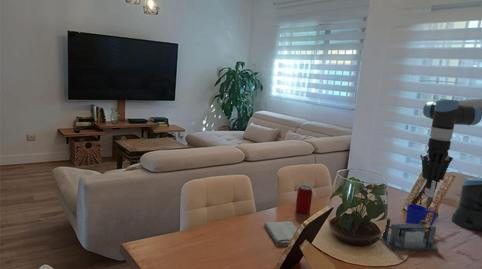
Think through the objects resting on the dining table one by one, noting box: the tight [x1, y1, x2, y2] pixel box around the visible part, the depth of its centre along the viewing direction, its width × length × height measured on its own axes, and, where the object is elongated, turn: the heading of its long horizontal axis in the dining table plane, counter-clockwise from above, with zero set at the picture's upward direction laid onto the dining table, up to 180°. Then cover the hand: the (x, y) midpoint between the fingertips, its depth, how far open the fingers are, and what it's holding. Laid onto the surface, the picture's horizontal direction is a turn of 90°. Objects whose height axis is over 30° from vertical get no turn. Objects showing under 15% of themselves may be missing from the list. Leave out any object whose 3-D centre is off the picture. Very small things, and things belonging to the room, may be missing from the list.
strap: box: [387, 222, 430, 230], centre depth 142 cm, size 19×4×1 cm, turn 99°
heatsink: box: [380, 217, 439, 251], centre depth 143 cm, size 20×12×9 cm, turn 99°
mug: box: [405, 203, 437, 226], centre depth 158 cm, size 8×12×10 cm
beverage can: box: [295, 185, 313, 214], centre depth 166 cm, size 7×7×12 cm
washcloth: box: [263, 220, 298, 247], centre depth 140 cm, size 12×18×3 cm, turn 14°
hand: (429, 196), depth 141 cm, fingers closed
